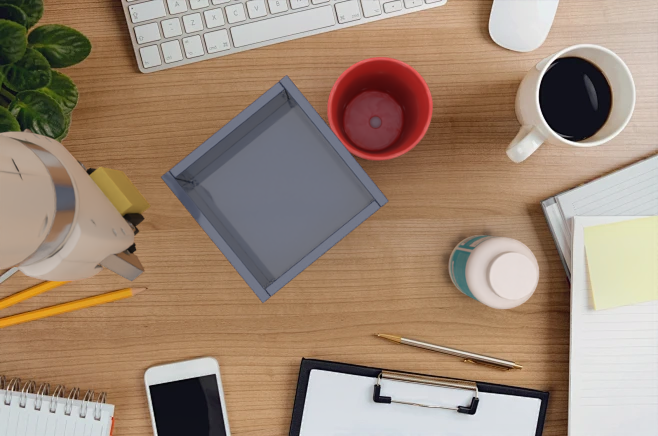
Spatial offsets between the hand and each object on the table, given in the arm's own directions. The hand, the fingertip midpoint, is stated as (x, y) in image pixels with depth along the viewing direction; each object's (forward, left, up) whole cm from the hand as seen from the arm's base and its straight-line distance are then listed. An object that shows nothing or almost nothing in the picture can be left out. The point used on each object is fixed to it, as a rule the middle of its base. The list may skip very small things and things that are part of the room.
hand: (111, 206), depth 53 cm
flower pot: (+7, +25, -19) cm, 33 cm away
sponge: (0, 0, -1) cm, 1 cm away
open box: (+8, +12, +1) cm, 15 cm away
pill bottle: (+28, +24, -19) cm, 42 cm away
